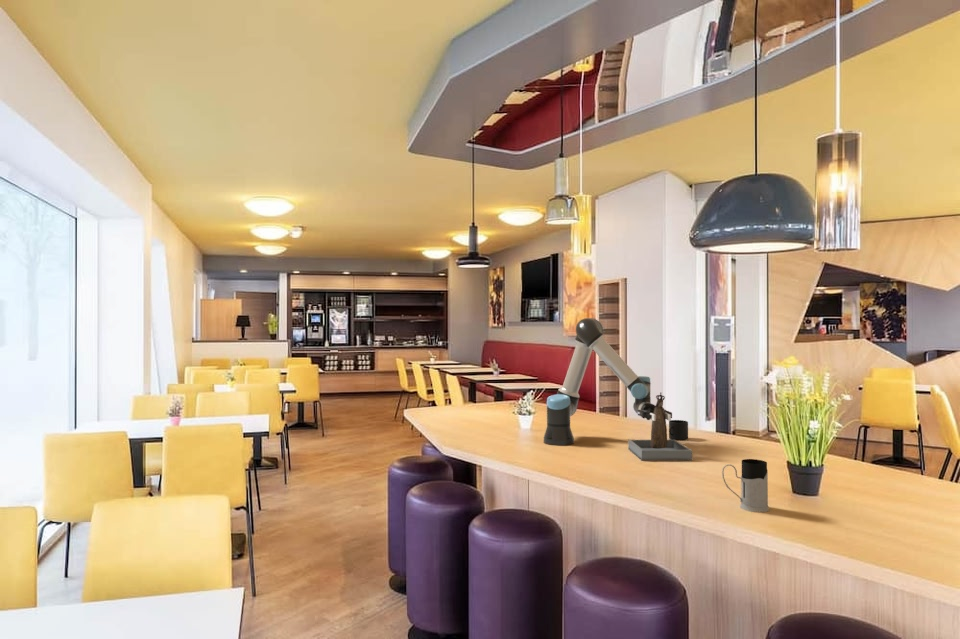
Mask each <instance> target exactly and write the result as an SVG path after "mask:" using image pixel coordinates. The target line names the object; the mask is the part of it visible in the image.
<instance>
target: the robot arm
mask: <svg viewBox="0 0 960 639" xmlns="http://www.w3.org/2000/svg"><path fill="white" fill-rule="evenodd" d="M603 333H604V327H603V325H602V323H601V322H600V321H599V320H598V319H596V318H593V317H587V318H585V317H584V318H583V319H580V320H579V321H578V322H577V324H576V326H575V334H576V336H575V340H574V342H575V343H576V345H575V347H574V350H573V355H572V356H571V360H570V362H569V366H568V369H567V372H566V375H565V378H564V381H563V384H562V386H561V387H560V388H558V390H557V392H556V394H552V395H550V396H548V397H547V398H546V428H545V432H544V435H543V443H544V444H546V445H547V444H548V445H552V446H566V445H567V446H568V445H569V446H570V445H573V444H574V443H575V440H574V439H575V438H574V435H573V431H572V429H571V417H572V416H573V415H574V414H575V413H577V410H578V402H579V400H580V394H579V390H580V387H581V385H582V382H583V378H584V376H585V373H586V370H587V368H588V364H589V361H590V358H591V355H592V352H593V351H594V352H595V354H596V355H597V356H598V357H599V358H600V359H601V360H602V361H603V362H604V363H605V365H606V366H607V368H609V369H610V370H611V371H612V372H613V374H614V375H615V376H616V377H617V378H618V379H619V380H620V381H621V383H623V385H624V386H625V387H626V388H627V390H629V392H630V393H631V396H632V397H633V398H634V402H633V406H632V408H633V410H634V411H635V413H636V414H637V416H639V417H641V418H642V419H646V420H647V421H650V420H651V421H652V420H653V421H656V417H655V414H653V413H654V409H655V406H656V404H654V403H651V402H652V400H651V384H652V383H651V378H650V376H642V375H641V376H639V375H637V373H635V372H634V370H633V369H632V368H631V367H630V366H629V365H628V363H626V362H625V361H624V359H623V358H622V357H621V356H620V355H619V354H618V353H617V351H615V350H614V349H613V347H612V345H610V344H609V343H608V342H607V340H606V339H605V338H604V336H605V335H604V334H603ZM664 410H665V411H664V414H665V419H666V421H668V422H669V421H671V420H672V419H673V412H671V411H669V410H667V409H664Z"/></svg>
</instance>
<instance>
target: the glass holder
mask: <svg viewBox="0 0 960 639" xmlns="http://www.w3.org/2000/svg"><path fill="white" fill-rule="evenodd" d="M726 467H733V469H734V471H735V473H734V474H735V477H736V478H737V479H740V486H741V487H740V490H741V492H740V493H741V494H740V495H738V494H737V493H736V492H734V491H733V490H732V489H731V488H730V487H729V486H728V484H727V482H726V479H725V475H724V473H725V472H724V470H725V469H726ZM768 474H769V473H768V462H767V461H765V460H762V459H756V458H755V459H754V458H744V459H742V460H741V475H740V476H738V471H737V468H736V466H734V465H733V464H725V465H724V466H723V467H722V472H721V475H722V479H723V483H724V485H725V486H726V488H727V489H728V490H729V491H730V492H731V493H732V494H734V495H735V496H736V497H738V499H739V500H740V504H739V508H740V509H742V510H744V511H747V512H751V513H767V512H769V511H770V508H769V499H768V498H769V495H768V493H769V491H768V490H769V488H768V485H769V484H768V478H769V477H768V476H769V475H768ZM740 496H741V497H740Z"/></svg>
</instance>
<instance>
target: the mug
mask: <svg viewBox="0 0 960 639" xmlns="http://www.w3.org/2000/svg"><path fill="white" fill-rule="evenodd" d="M688 439H689V421H687V420H682V419H680V420H679V419H673V420H672V419H671V421H668V440H676V441H678V442H679V441H680V442H681V441H688Z"/></svg>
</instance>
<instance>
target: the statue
mask: <svg viewBox="0 0 960 639" xmlns="http://www.w3.org/2000/svg"><path fill="white" fill-rule="evenodd" d="M655 398H656V400H657V401H656V403H655V409H654V413H653V414H655V417H656V421H653V420H651V428H650V429H651V431H650V432H651V434H650V440H651V448H656V449H660V448H666V447H667V440H668V429H667V428H668V427H667V419H665V414H664V411H665V410H666V409H665V407H663V406H664V400H665V399H666V396H665V395H662V392H660V394H658V395H655Z"/></svg>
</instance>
